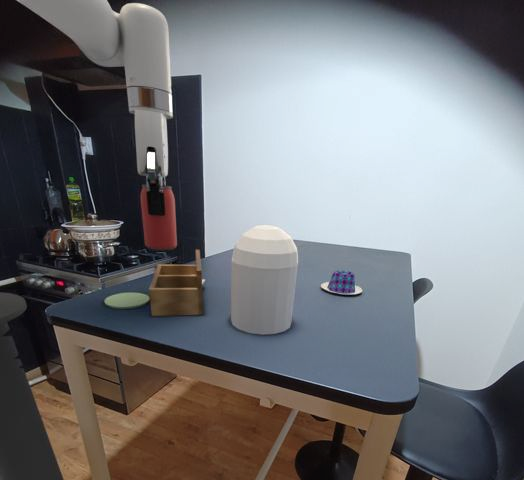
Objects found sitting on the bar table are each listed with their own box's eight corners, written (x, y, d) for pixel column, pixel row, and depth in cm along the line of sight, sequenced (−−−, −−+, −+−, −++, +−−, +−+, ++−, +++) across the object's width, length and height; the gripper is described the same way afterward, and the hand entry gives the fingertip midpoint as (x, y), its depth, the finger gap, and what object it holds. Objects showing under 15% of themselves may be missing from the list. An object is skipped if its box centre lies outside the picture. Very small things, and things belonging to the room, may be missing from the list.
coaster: (100, 309, 71) (99, 307, 70) (109, 294, 79) (109, 292, 79) (147, 308, 73) (146, 306, 72) (151, 294, 81) (151, 292, 81)
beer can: (183, 248, 69) (181, 187, 64) (159, 252, 64) (154, 186, 59) (163, 243, 72) (159, 184, 67) (138, 246, 68) (132, 183, 62)
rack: (151, 316, 69) (146, 270, 64) (160, 286, 87) (156, 248, 82) (203, 314, 71) (201, 270, 66) (200, 286, 89) (199, 249, 84)
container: (299, 317, 73) (310, 225, 64) (280, 340, 62) (290, 233, 53) (246, 306, 77) (249, 218, 68) (219, 326, 66) (218, 224, 57)
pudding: (358, 285, 98) (361, 268, 96) (365, 298, 88) (369, 280, 85) (319, 282, 99) (321, 265, 96) (321, 294, 88) (324, 276, 86)
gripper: (136, 110, 63) (145, 207, 72) (118, 91, 49) (132, 217, 57) (174, 115, 65) (179, 210, 73) (169, 98, 50) (175, 219, 59)
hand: (158, 212), depth 65 cm, fingers closed on beer can, 6 cm apart
